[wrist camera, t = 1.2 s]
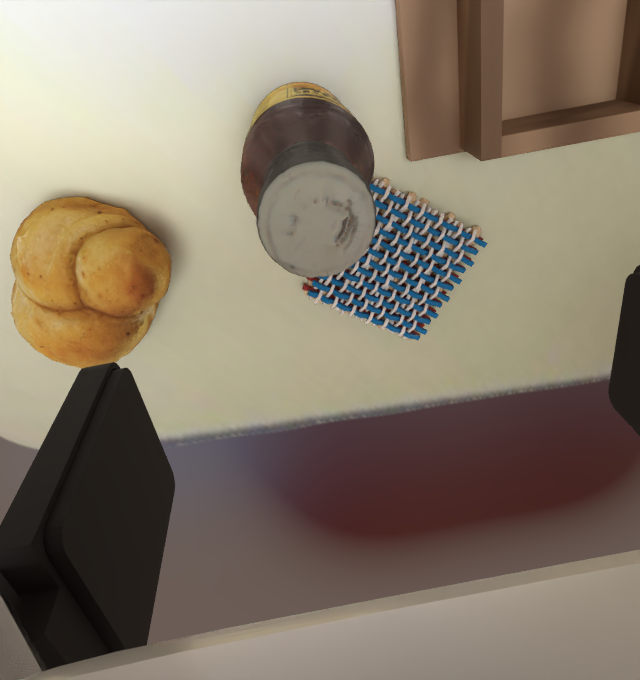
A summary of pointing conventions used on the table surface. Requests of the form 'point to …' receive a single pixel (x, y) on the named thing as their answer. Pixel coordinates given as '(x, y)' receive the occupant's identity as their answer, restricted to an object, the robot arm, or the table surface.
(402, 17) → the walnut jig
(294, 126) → the sauce bottle
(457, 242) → the woven mat
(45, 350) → the bread roll
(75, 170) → the table surface
